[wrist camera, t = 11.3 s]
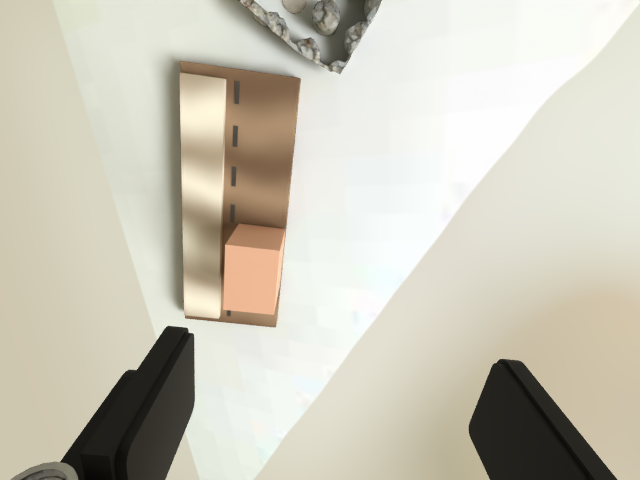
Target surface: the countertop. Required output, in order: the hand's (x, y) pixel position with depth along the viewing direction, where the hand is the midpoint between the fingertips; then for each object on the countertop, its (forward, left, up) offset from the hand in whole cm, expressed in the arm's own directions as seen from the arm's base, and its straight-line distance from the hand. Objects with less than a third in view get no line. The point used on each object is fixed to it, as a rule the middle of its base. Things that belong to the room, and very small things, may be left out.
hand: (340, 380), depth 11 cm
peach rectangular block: (+8, -6, -27) cm, 29 cm away
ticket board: (+4, -9, -28) cm, 30 cm away
